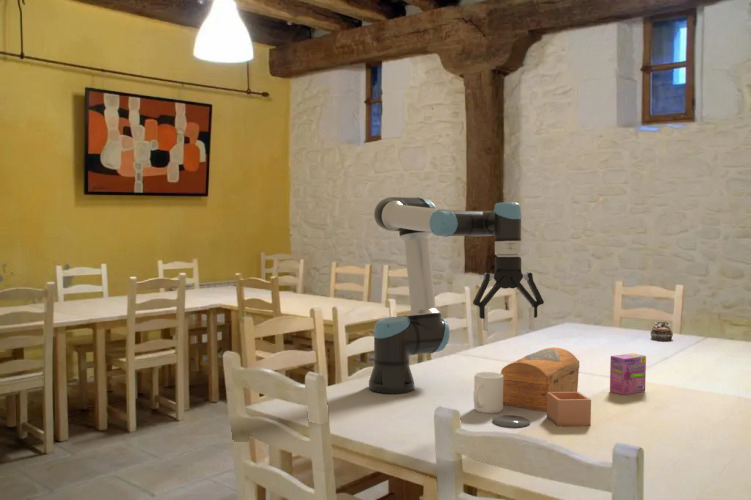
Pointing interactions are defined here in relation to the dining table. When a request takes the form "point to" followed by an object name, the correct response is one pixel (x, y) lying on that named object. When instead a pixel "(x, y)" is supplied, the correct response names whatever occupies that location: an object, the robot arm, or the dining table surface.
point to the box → (627, 373)
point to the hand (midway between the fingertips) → (508, 329)
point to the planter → (569, 408)
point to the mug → (488, 392)
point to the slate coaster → (511, 421)
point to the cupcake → (661, 332)
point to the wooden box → (539, 378)
